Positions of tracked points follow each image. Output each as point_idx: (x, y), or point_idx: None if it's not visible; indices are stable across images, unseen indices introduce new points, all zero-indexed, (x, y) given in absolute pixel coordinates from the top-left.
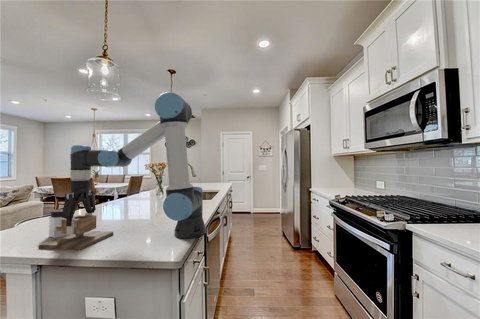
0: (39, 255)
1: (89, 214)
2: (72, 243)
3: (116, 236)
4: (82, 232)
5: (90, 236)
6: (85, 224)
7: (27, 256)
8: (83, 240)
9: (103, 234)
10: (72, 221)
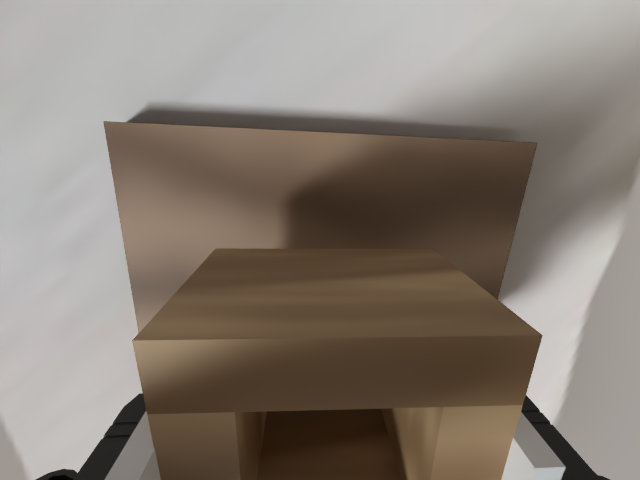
0: (567, 319)
1: (151, 473)
2: (461, 250)
3: (164, 51)
4: (417, 252)
5: (286, 240)
6: (400, 286)
7: (569, 364)
8: (393, 220)
9: (215, 161)
10: (525, 424)
